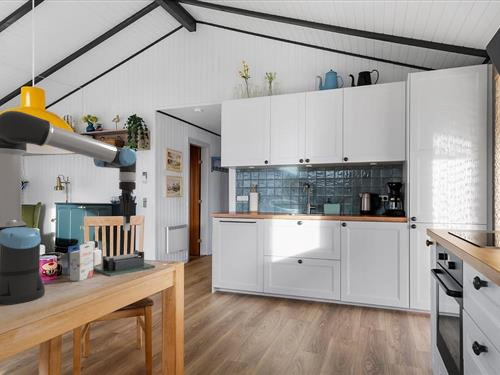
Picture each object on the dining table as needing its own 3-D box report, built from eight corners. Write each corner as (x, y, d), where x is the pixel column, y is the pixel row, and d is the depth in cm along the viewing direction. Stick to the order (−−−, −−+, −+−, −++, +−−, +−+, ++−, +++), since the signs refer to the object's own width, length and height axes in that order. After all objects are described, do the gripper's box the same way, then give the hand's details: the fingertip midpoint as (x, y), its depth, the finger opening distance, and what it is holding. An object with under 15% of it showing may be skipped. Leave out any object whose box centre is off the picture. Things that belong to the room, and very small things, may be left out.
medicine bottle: (87, 263, 168) (88, 240, 169) (101, 263, 168) (101, 240, 169) (80, 266, 161) (80, 241, 162) (94, 266, 161) (94, 242, 161)
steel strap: (108, 261, 148) (108, 257, 148) (104, 260, 151) (104, 255, 151) (142, 256, 161) (142, 252, 161) (137, 255, 164) (137, 251, 164)
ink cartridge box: (83, 275, 142) (84, 241, 143) (93, 276, 141) (94, 242, 142) (68, 280, 134) (69, 244, 134) (79, 281, 133) (80, 245, 133)
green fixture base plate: (110, 276, 142) (110, 258, 142) (92, 269, 154) (93, 253, 154) (155, 268, 158) (155, 252, 158) (136, 262, 170) (136, 248, 170)
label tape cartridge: (73, 270, 153) (74, 243, 153) (81, 270, 153) (81, 243, 153) (59, 274, 144) (60, 246, 145) (67, 274, 144) (68, 246, 144)
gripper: (141, 181, 156) (140, 230, 155) (128, 182, 165) (127, 228, 164) (126, 180, 151) (125, 231, 150) (113, 181, 159) (112, 229, 159)
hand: (126, 230), depth 157 cm, fingers closed
